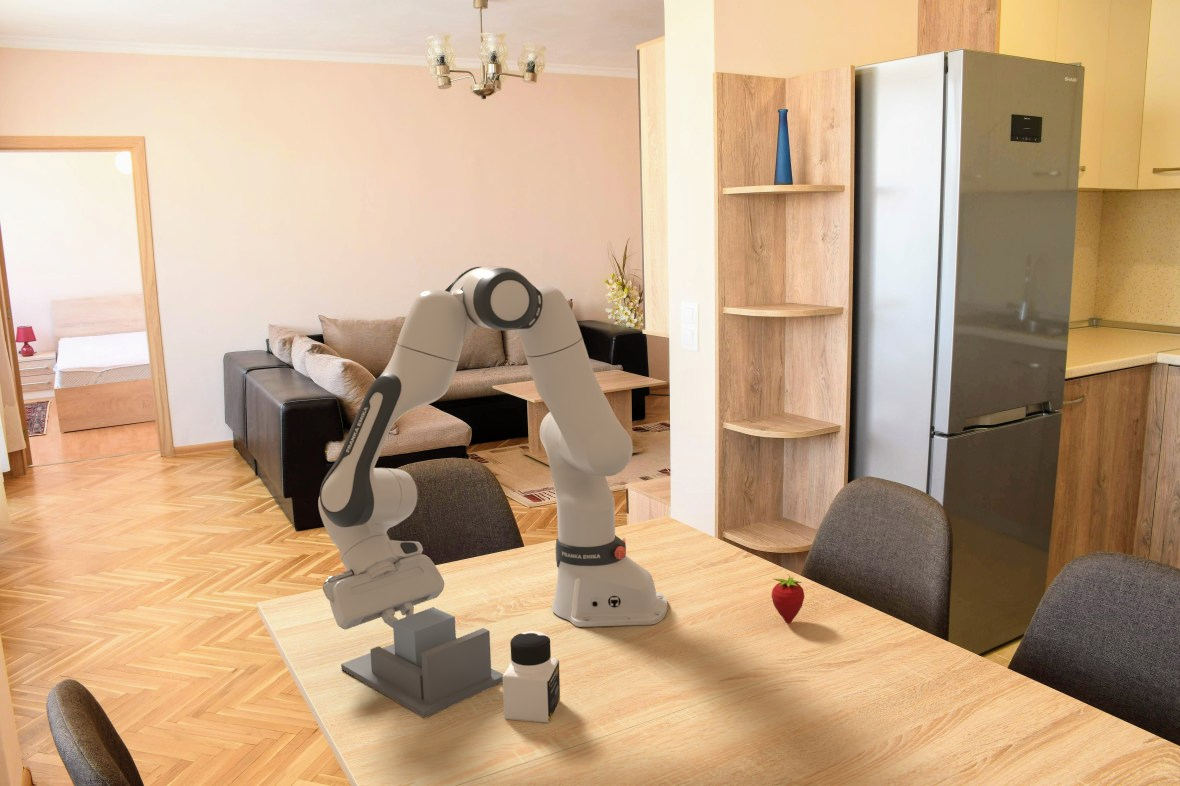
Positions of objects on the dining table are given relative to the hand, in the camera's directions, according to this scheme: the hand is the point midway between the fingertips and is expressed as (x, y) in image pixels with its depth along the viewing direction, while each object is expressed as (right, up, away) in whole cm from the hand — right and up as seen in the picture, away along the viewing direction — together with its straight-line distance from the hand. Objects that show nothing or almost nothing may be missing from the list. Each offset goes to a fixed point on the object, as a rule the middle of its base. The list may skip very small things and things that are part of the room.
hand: (408, 632), depth 154 cm
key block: (+4, -6, -2) cm, 7 cm away
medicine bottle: (+22, -9, -13) cm, 27 cm away
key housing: (+3, -7, -1) cm, 7 cm away
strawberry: (+67, -3, +16) cm, 69 cm away
